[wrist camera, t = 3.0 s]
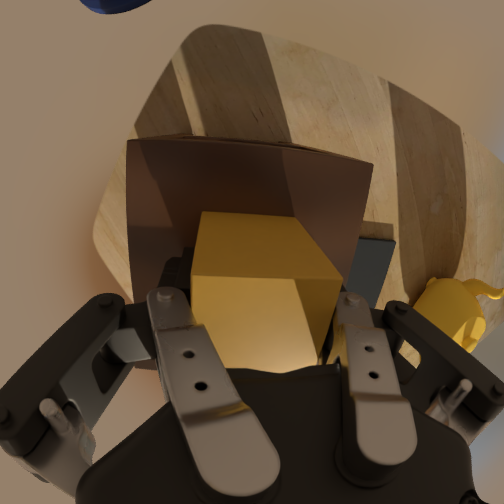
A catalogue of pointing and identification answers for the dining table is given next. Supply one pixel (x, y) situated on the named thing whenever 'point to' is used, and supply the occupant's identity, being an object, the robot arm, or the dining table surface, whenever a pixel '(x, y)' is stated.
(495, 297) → the teapot
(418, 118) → the dining table surface
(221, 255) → the yellow block
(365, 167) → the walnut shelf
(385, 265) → the slate mat
